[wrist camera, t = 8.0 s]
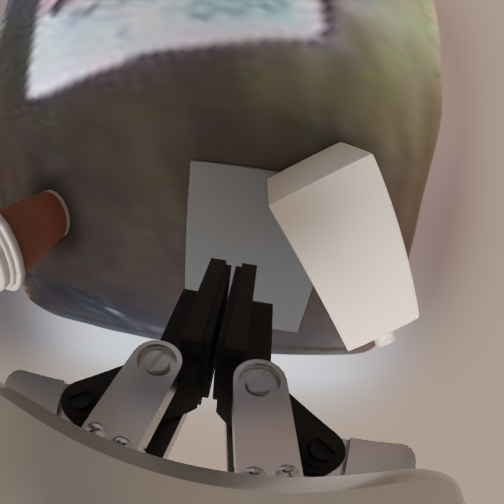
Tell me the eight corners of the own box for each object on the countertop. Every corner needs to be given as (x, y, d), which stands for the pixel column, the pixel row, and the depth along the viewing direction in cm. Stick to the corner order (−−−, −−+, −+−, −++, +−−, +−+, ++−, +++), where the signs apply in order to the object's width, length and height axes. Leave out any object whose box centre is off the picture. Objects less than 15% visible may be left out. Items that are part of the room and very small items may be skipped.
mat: (192, 159, 23) (190, 160, 22) (339, 184, 22) (340, 185, 22) (186, 310, 31) (185, 312, 30) (297, 329, 30) (297, 332, 30)
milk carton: (339, 139, 20) (398, 299, 27) (265, 177, 22) (344, 325, 29) (372, 150, 14) (423, 342, 21) (266, 203, 16) (359, 373, 23)
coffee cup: (83, 252, 28) (21, 311, 18) (38, 241, 29) (-19, 288, 18) (74, 180, 24) (-7, 222, 14) (28, 178, 24) (-41, 213, 14)
